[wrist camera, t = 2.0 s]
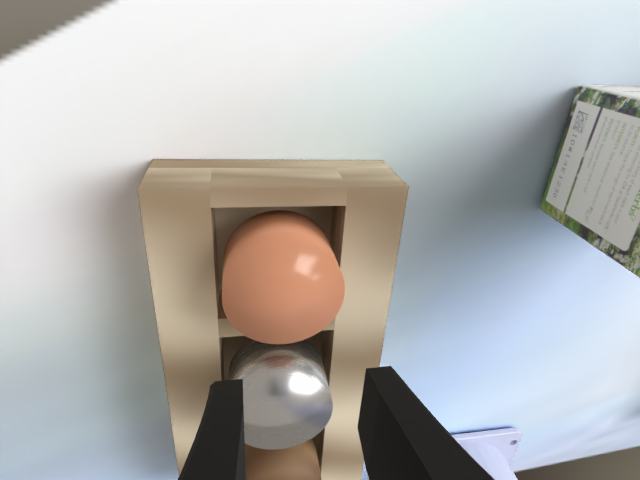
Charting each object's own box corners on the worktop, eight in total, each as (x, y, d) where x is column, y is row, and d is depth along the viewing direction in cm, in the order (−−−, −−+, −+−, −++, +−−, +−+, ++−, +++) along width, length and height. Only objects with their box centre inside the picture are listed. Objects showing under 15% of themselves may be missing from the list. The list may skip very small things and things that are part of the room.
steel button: (319, 397, 20) (329, 443, 18) (230, 406, 19) (230, 454, 17) (324, 329, 18) (336, 371, 16) (227, 336, 17) (226, 381, 15)
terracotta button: (327, 300, 17) (340, 339, 15) (225, 305, 17) (224, 348, 15) (334, 209, 16) (350, 240, 14) (220, 210, 15) (218, 244, 13)
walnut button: (313, 473, 23) (321, 521, 20) (234, 483, 22) (235, 533, 20) (317, 420, 21) (326, 466, 19) (231, 429, 20) (231, 478, 18)
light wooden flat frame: (346, 438, 26) (359, 486, 23) (189, 456, 24) (184, 510, 21) (383, 160, 18) (408, 186, 15) (152, 159, 16) (137, 188, 14)
